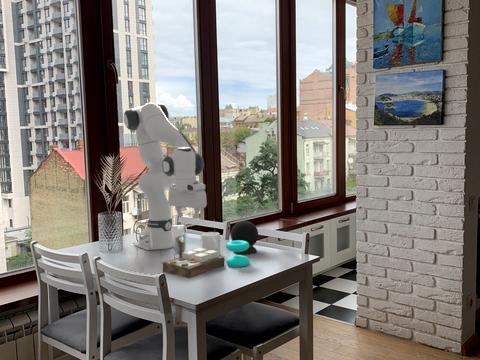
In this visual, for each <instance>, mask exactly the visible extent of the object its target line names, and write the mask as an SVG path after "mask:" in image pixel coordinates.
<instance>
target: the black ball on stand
mask: <svg viewBox="0 0 480 360" xmlns="http://www.w3.org/2000/svg"><path fill="white" fill-rule="evenodd" d="M258 238H259V230H258V228H257V226H256V225H255V224H254V223H252V221H249V220H241V221H240V220H239V221H238V222H236V223H235V224H234V225H233V226H232V228H231V230H230V239H231V241H236V240H242V241H246V242H248V243H249V248H248V249H247V250H245V251H242V252H233V254H235V255H243V256H247V255H253V254H256V253H257V251H258V250H257V249H256V247H255V244H256V243H257V241H258Z"/></svg>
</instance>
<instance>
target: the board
mask: <svg viewBox="0 0 480 360" xmlns="http://www.w3.org/2000/svg"><path fill="white" fill-rule="evenodd" d="M161 263H162V273H166V274H171V275H174V276H179V277H182V278H187V279H192V278H195V277H198V276H199V275H203V274H206V273H209V272H211V271H214V270H218V269H220V268H223V267H225V265H226V264H225V256H222V255H219V256H218V258H214V259H209V260H208V261H205V262H202V263H200V262H197V261H194V259H192V260H186V259H184V258H182V257H179V258H176V259H174V258H173V259H170V260H166V261H163V262H161Z"/></svg>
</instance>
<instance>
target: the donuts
mask: <svg viewBox="0 0 480 360" xmlns="http://www.w3.org/2000/svg"><path fill="white" fill-rule="evenodd" d="M225 248H226V249H227V250H228V251H230V252H242V251H245V250H247V249H248V248H249V243H248V242H246V241H242V240H236V241H232V240H230V241H228V242H227V243H226V245H225ZM226 264H227V266H229V267H231V268H243V267H246V266H248V265H249V264H250V258H249V257H248V256H247V255H239V254H235V255H232V256H229V257H228V258H227V260H226Z"/></svg>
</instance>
